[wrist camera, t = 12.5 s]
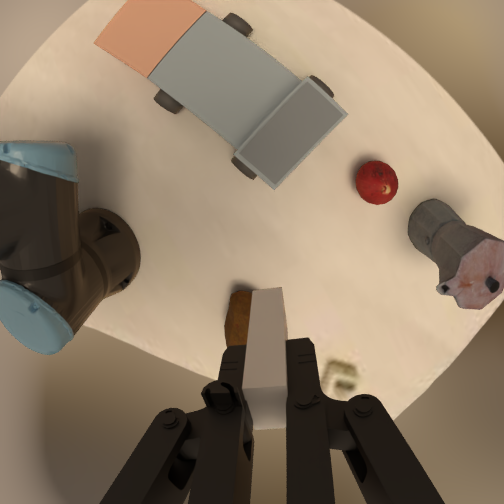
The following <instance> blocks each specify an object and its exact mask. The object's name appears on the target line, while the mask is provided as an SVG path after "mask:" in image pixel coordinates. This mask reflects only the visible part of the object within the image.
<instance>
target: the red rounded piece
mask: <svg viewBox="0 0 504 504" xmlns="http://www.w3.org/2000/svg"><path fill="white" fill-rule="evenodd" d="M356 188H357V191H358V192H359V194H360V196H361V198H363V199H364V200H365V201H366V202H368V203H371V204H375V205H379V204H385V203H387V202H389V201H390V200H392V198H393V197H394V196H395V195H396V193H397V189H398V179H397V176H396V174H395V171H394V170H393V169H392V168H391V167H390V166H389V165H388V164H386V163H383V162H381V161H370V162H367V163H366V164H364V165H363V166H361V168H360V170H359V171H358V173H357V177H356Z"/></svg>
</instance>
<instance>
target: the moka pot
mask: <svg viewBox="0 0 504 504" xmlns="http://www.w3.org/2000/svg"><path fill="white" fill-rule="evenodd" d="M408 235H409V237H410V240H411V242H412V243H413V245H414V246H415V248H416V249H417V250H419V251H420V252H422V253H423V254H424V255H426V256H427V257H428V258H430V259H431V260H432V261H434V262H435V263H436V264H437V266H438V268H439V285H437V286H436V290H437V291H438V292H439V293H440V294H441V295H449V296H453V297H454V298H455V300H456V302H457V305H458V307H460V308H463V309H478V310H480V309H482V308H484V307H485V306H486V305H487V304H489V303H490V302H491V301H492V300H494V299H495V298H496V297H497V296H498V295H499V294H501V293H502V291H503V289H504V241H503V240H501V239H499V238H497V237H495V236H493V235H491V234H489V233H486V232H484V231H482V230H480V229H478V228H476V227H473V226H469V225H466V224H465V222H464V221H463V220H462V219H461V218H460V217H459V216H458V215H457V214H456V213H455V212H454V211H453V209H452V208H451V207H450V206H449V205H447V204H445V203H443V202H441V201H439V200H437V199H432V200H429V201H426V202H423V203H421V204H420V205H419V206H418V207H417V208H416V209H415V210H414V212H413V213H412V215H411V217H410V220H409V225H408Z"/></svg>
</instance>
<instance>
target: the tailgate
mask: <svg viewBox="0 0 504 504" xmlns="http://www.w3.org/2000/svg"><path fill="white" fill-rule="evenodd" d="M206 12H207V11H206V10H205V9H203V8H202V7H200V6H199V5H197V4H195V3H194V2H192V1H191V0H128V1H127V2H126V3H125V4H124V5H123V6H122V8H121V9H120V10H119V11H118V12H117V13H116V15H115V16H114V17H113V18H112V20H111V21H110V22H109V23H108V25H107V26H106V27H105V28H104V30H103V31H102V32H101V34H100V35H99V36H98V38H97V39H96V40H95V42H94V44H95V45H97V46H99V47H100V48H102V49H103V50H105V51H107V52H108V53H110V54H111V55H113V56H114V57H116V58H118V59H119V60H121V61H122V62H124V63H125V64H127V65H128V66H130V67H131V68H133V69H134V70H136V71H137V72H139V73H140V74H142V75H143V76H145V77H146V78H148V77H149V76H150V74H151V73H152V72H153V71H154V69H155V68H156V67H157V66H158V64H159V63H160V62H161V61H162V60H163V58H164V57H165V56H166V55H167V54H168V52H169V51H170V50H171V49H172V48H173V47H174V46H175V44H176V43H177V42H178V41H179V40H180V39H181V38H182V37H183V35H184V34H185V33H186V32H187V31H188V30H189V29H190V28H191V27H192V26H193V25H194V24H195V23H196V22H197V21H198V20H199V19H200V18H201V17H202V16H203V15H204V14H205V13H206Z"/></svg>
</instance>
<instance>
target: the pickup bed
mask: <svg viewBox="0 0 504 504" xmlns="http://www.w3.org/2000/svg"><path fill="white" fill-rule="evenodd" d="M251 31H253V29H252V27H251V26H250V25H249V24H248V23H247V22H246V21H244V20H243V19H242V18H240V17H239V16H237V15H236V14H233V13H230V14H228V15H227V16H226V17H225V18H224V19H223V20H220V19H219V18H217V17H215V16H214V15H212V14H211V13H209V12H208V11H207V12H206V13H205V14H204V15H203V16H202V17H201V18H200V19H199V20H198V21H197V22H196V23H195V24H194V25H193V26H192V27H191V28H190V29H189V30H188V31H187V32H186V33H185V34H184V35H183V37H182V38H181V39H180V40H179V41H178V42H177V43H176V44H175V46H174V47H173V48H172V49H171V50H170V51H169V52H168V54H167V55H166V56H165V57H164V58H163V60H162V61H161V62H160V63H159V64H158V66H157V67H156V68H155V69H154V71H153V72H152V73H151V74H150V76H149V77H148V78H147V79H149V80H150V81H151V82H153V83H154V84H155V85H157V86H158V87H159V88H161V89H160V91H159V92H158V93H157V94H156V96H155V97H154V100H155V101H156V102H157V103H158V104H159V105H160V106H162V107H163V108H165V109H166V110H168V111H170V112H171V113H174V114H177V113H178V111H179V110H180V109H181V108H182V106H184V107H185V108H187V109H188V110H189V111H191V112H192V113H193V114H194V115H196V116H197V117H198V118H199V119H201V120H202V121H203V122H204V123H205V124H207V125H208V126H209V127H210V128H212V129H213V130H214V131H215V132H216V133H218V134H219V135H220V136H221V137H223V138H224V139H225V140H226V141H227V142H229V143H230V144H231V145H232V146H233V147H234V148H236V149H237V151H236V152H235V153H234V154H233V155H234V157H233V158H232V160H231V161H232V163H233V164H234V165H235V166H236V167H237V168H238V169H239V170H240V171H241V172H242V173H243V174H245V175H246V176H247V177H249V178H250V179H253V180H254V179H255V178H256V177H257V175H258V176H259V177H260V178H261V179H262V180H263V181H264V182H266V183H267V184H268V185H269V186H270V187H271V188H272V189H273V190H275V189H276V188H277V187H278V186H279V185H280V184H281V183H282V182H283V181H284V180H285V179H286V177H287V176H288V175H289V174H290V173H291V172H292V171H293V170H294V169H295V168H296V167H297V166H298V165H299V164H300V163H301V162H302V161H303V160H304V159H305V158H306V157H307V156H308V155H309V154H310V153H311V152H312V151H313V150H314V149H315V148H316V147H317V145H318V144H319V143H320V142H321V141H322V140H323V139H324V138H325V137H326V136H327V135H328V134H329V133H330V132H331V131H332V130H333V129H334V128H335V127H336V126H337V125H338V124H339V123H340V122H341V121H342V120H343V119H344V118H345V117H346V116H347V115H348V113H347V112H346V111H345V110H344V109H343V108H342V107H341V106H340V105H339V104H337V103H336V102H335V101H334V100H333V99H332V98H333V97H334V94H333V92H332V91H331V90H330V88H329V87H328V86H327V85H326V84H325V83H323V82H322V81H321V80H320V79H318V78H317V77H315V76H313V75H311V76H310V77H308V76H307V77H306V78H305V79H304V80H303V81H301V80H300V79H299V78H297V77H296V76H295V75H294V74H293V73H292V72H290V71H289V70H288V69H287V68H286V67H284V66H283V65H282V64H281V63H279V62H278V61H277V60H276V59H274V58H273V57H272V56H271V55H269V54H268V53H267V52H265V51H264V50H263V49H261V48H260V47H259V46H257V45H256V44H255V43H253V42H252V41H251V40H249V39H248V38H246V36H247V35H248V34H249V33H250V32H251Z"/></svg>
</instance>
